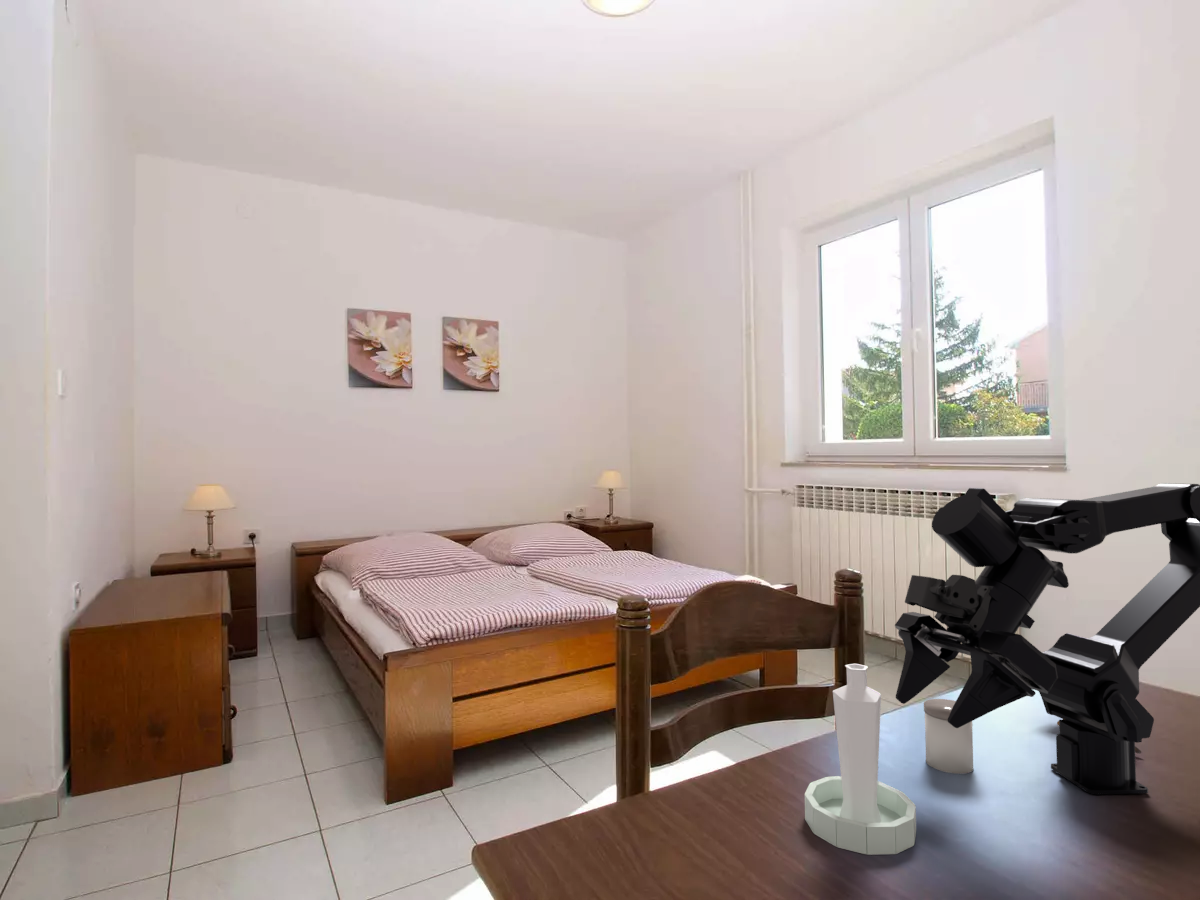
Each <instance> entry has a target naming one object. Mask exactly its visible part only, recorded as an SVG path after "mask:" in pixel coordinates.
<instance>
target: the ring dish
mask: <svg viewBox="0 0 1200 900" xmlns="http://www.w3.org/2000/svg"><path fill="white" fill-rule="evenodd" d="M842 803H843V791H842V781H841V775H840V776H839V775H836V776H835V775H834V776H825V777H822V778H819V779H817V780H814V781H811V782H810V783H809V784H808V786H807V788H806V790H805V792H804V820H805V822H806V823H807V825H808V826H809V828H810V830H811V831H812V833H813V834H814V835H816V836H817V837H818V838H820V839H822V840H824V841H826V843H829V844H830V845H832V846H834V847H836V848H839V849H843V850H847V851H851V852H855V853H859V854H862V855H868V856H871V855H872V856H875V855H878V856H879V855H897V854H899V853H901V852H904V851H905V850H908V849H910V848H912V847H913V846H915V842H916V835H917V813H916V812H917V808H916V807H917V805H916V804H915V803H914V802H913V801H912V800H911V799H910V798H909V796H907V795H906V794H905V793H904V792H903V791H901V790H899V789H897V788H894V787H892V786H890V785H888V784H885V783H884V782H882V781H879V780H878V784H877V806H878V809H879V813H880V816H881V820H880V823H863V822H859V821H855V820H850V819H846V818H842V817H841V815H840V811H841V807H842Z"/></svg>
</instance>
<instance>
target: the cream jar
mask: <svg viewBox="0 0 1200 900" xmlns="http://www.w3.org/2000/svg"><path fill="white" fill-rule="evenodd" d="M955 702H956V700H953V699H945V698H932V699H931V698H930V699H927V700H925V701H923V712H924V729H925V730H924V731H925V733H924V734H925V762H926V764H927V765H928V766H929V767H931V768H933V769H935V770H937V771H940V772H944V773H946V774H947V773H948V774H953V775H955V774H956V775H964V774H970V773H971V772H973V771H974V745H973V744H974V742H973V741H974V740H973V739H974V738H973V734H974V733H973V721H971V722H969V723H967V724H965V725H963V726H961V727H959V728H955V727H953V726H952V725H951V724H950V723H948V717H949V715H950V712H951V710H952V708H953V706H954V704H955Z"/></svg>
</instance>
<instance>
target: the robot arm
mask: <svg viewBox="0 0 1200 900" xmlns="http://www.w3.org/2000/svg"><path fill="white" fill-rule="evenodd" d="M1154 525H1160V528H1161V533H1162V535H1164V537H1165V538H1166V539H1168V540H1169V542H1168V549H1169V562H1168V563H1167V564H1166V565H1165V566H1164V567H1163V568H1162V569H1161V570H1160V571H1158V573H1157V574H1156V575H1155V576H1154V577H1152V579H1150V580H1149V581H1148V583H1147V584H1145V586H1144V587H1142V588H1141V589H1140V590H1139V591H1138V592H1137V593H1136V595H1134V596H1133V597H1132V598H1131V599H1130V600H1129V601H1128V602H1127V603H1126V604H1125V605H1124V606H1123V607H1122V608H1121V609H1120V610H1119V611H1118V612H1117V613H1116V614H1114V616H1113V617H1112V618H1111V619H1110V620H1109V621H1108V622H1107V623H1106V624H1105V625H1104V626H1103V627H1102V628H1100V629H1099V631H1098V632H1097V633H1095V634H1094V635H1093V636H1090V637H1084V636H1080V635H1077V634H1073V633H1070V632H1066V633H1064V634H1063V635H1061V636H1060V637H1059V638H1058V639H1057V640H1056V641H1055V643H1054V644H1053V646H1051V647H1050V648H1049V649H1048V650H1045V651H1041V650H1039V649H1038V648H1037V647H1036V646H1035V645H1033V643H1031V642H1030V641H1029V640H1028V639H1027V638H1025V637H1024V636H1023V635H1022V634H1019V633H1016V632H1018V629H1019V628H1025V629H1028V630H1029V629H1031V628H1032V627H1033V625H1034V623H1035V622H1036V621H1035V620H1034V618H1032V617H1030V615H1029V612H1031V610H1032V609H1033V607H1034V605H1035V603H1036V602H1037V601H1038V599H1039V598H1040V596H1041V595H1042V593H1043V592H1044V590H1045V589H1046V587H1047V586H1051V587H1053V586H1054V587H1057V588H1064V589H1067V588H1068V587H1069V585H1070V583H1069V580H1068V576H1067V575H1066V572H1065V570H1064V563H1063V562H1061V561H1056V560H1050V558H1049V557H1047V556H1046V555H1045V554H1044V553H1043V552H1042V551H1041V550H1043V551H1050V552H1057V553H1063V554H1079V553H1082V552H1084V551H1087V550H1089V549H1092V548H1093V547H1096V546H1099V545H1100V544H1102V543H1103V542H1104V541H1105V539H1106V537H1107V536H1109V535H1111V534H1114V533H1119V532H1124V531H1129V530H1135V529H1140V528H1145V527H1149V526H1150V527H1151V526H1154ZM931 528H932V530H933V532H934V533H935V534H936V535H937V536H939V538H940V539H942V541H943V542H944V543H946V544H947V545H948V546H949V547H950V548H951V549H952V550H953V551H954V552H955V553H957V554H958V555H959V556H960V558H962V559H963V560H964V561H965V562H966V563H967V565H970V566H971V567H975V568H983V570H981V572H980V574H979V575H978V576H977V578H976V579H974V578H972V577H968V576H966V575H963V574H962V575H960V574H951V575H950V576H949V577H948V578H947V579H946V580H945V579H943V578H941V579H940V578H935V577H933V576H932V577H931V576H923V575H915V574H912V575H911V577H910V579H909V584H908V588H907V592H906V595H905V600H904V603H905V604H907V605H910V606H913V607H914V606H917V607H920V608H923V609H925V610H927V611H928V610H929V611H932V612H935V615H934V618H933V617H932V616H931V615H929V614H925V613H920V612H915V611H910V612H903V613H902V614H901V615H900V616H899V619H898V620H897V621H896V622H895V624H894V628H895V629H896V630H898V632H897V634H898V637H899V638H900V639H902V643H903V646H904V651H905V655H904V659H903V666H902V669H901V674H900V678H899V682H898V684H897V685H898V686H897V690H896V692H895V699H896V701H898V702H899V703H901V704H903V705H905V704H906V703H908V702H909V701H910V700H912V699H913V698H915V697H916V696H917V695H918V694H920V693H921V692H922V691H923V690H925V689H926V688H927V687H928V686H929V685H931V683H933V682H934V681H936V680H937V679H938V678H939V677H941V675H943V674H944V673H946V671H948V670H949V669H950V668H951V666H950V665H949V664H948V663H949V662H951V661H953V660H955V659H956V657H957V656H958V655H959V653H960V654H962V655H963V654H964V655H966V656H970V665H971V672H970V674H969V676H968V678H967V680H966V682H965V684H964V686H963V687H962V690H961V691H960V693H959V695H958V697H957V699H956V700H955V701H956V702H955V704H954V706H953V708H952V710H951V712H950V715H949V717H948V723H950V724H951V725H952V726H953V727H955V728H959V727H961V726H963V725H965V724H967V723H969V722H971V721H972V722H973V721H975V720H977V719H979V718H981V717H983V716H985V715H987V714H989V713H991V712H992V711H995V710H997V709H999V708H1002V707H1004V706H1007V705H1009V704H1011V703H1013V702H1015V701H1017V700H1020V699H1023V698H1025V697H1030V698H1033V697H1034V696H1035V695H1036V693H1037V692H1038V693H1039V695H1040V696H1041V700H1042V703H1043V705H1044V708H1045V711H1046V712H1045V713H1046V714H1049V716H1050V715H1051V716H1055V717H1058V718H1060V719H1059V720H1058V721H1059V726H1058V729H1059V730H1058V732H1059V733H1057V734H1056V736H1055V737H1056V738H1055V742H1056V743H1055V744H1056V746H1055V747H1056V750H1055V751H1056V752H1055V753H1056V763H1051V764H1050V769H1051V770H1052V771H1054V772H1055V773H1057V774H1059V775H1060V776H1062V777H1063V778H1065V779H1066V780H1068V781H1069V782H1071V783H1072V784H1074V785H1075V786H1077V787H1079V789H1082V791H1085V792H1086V793H1088V794H1092V795H1125V794H1127V795H1129V794H1130V795H1131V794H1133V795H1134V794H1148V793H1149V788H1148V786H1146V785H1144V784H1142V783H1140V782H1138V781H1137V774H1136V773H1137V769H1136V752H1135V747H1136V743H1137V744H1138V743H1142V741H1143V739H1149V738H1150V737H1151V734H1152V731H1153V728H1154V727H1153V726H1154V721H1155V718H1154V716H1152V715H1151V713H1150V711H1148V710H1147V709H1146V708H1145V707H1144V706H1143V705H1142V703H1140V701H1139V700H1138V699H1137V697H1138V695H1140V672H1139V671H1140V669H1141V667H1142V666H1143V665H1144V664H1146V662H1147V661H1148V660H1149V659H1150V658H1151V657H1152V656H1153V655H1154V654H1155V653H1156V652H1157V651H1158V650H1159V649H1160V648H1161V647H1162V646H1163V645H1164V644H1165V643H1166V641H1168V640H1169V639H1170V638H1171V637H1172V635H1174V634H1175V632H1176V631H1178V630H1179V629H1180V627H1181V626H1183V625H1184V623H1185V622H1186V621H1188V619H1189V618H1191V616H1192V615H1193V614H1194V613H1195V612H1196V611H1197V610H1198V609H1199V608H1200V484H1199V483H1176V482H1175V483H1170V482H1169V483H1167V482H1161V483H1159V484H1155V485H1153V486H1151V487H1146V488H1145V487H1144V488H1139V489H1134V490H1128V491H1123V492H1117V493H1111V494H1106V495H1099V496H1095V497H1090V498H1084V499H1069V498H1068V499H1067V498H1066V499H1064V498H1044V497H1043V498H1041V497H1040V498H1039V497H1024V498H1022V499H1021V498H1020V499H1019V500H1017V501H1015V503H1014V504H1013V508H1012V509H1008V510H1005V509H1003V508H1002V507H1001V505H999V503H997V502H996V501H995V500H994V497H993V496H992V494H990V493H989V491H987V490H986V489H985V488H981V487H980V488H979V487H978V488H977V487H969V488H968V489H967V491H966V492H965V493H964V495H961V496H957V497H956V498H953V499H952V500H950V501H949V502H947V503H946V504H945V505H943V506H941V507H940V508H938V510H937V511H936V512H935V514H934V515H933V518H932V521H931ZM943 625H945V626H946V627H944V626H943ZM1036 691H1037V692H1036ZM1063 719H1064V720H1063Z"/></svg>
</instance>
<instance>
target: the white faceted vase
mask: <svg viewBox="0 0 1200 900" xmlns="http://www.w3.org/2000/svg"><path fill="white" fill-rule="evenodd" d="M844 667H845V668H846V685H843V686H841V687H838V688H836V689H833V690H832V697H833V709H834V718H835V719H834V720H835V728H836V739H837V748H838V750H837V751H838V757H839V758H838V759H839V768H840V770H839V771H840V776H841V781H842V791H843V803H842V807H841V811H840V815H841V817H842V818H846V819H850V820H855V821H859V822H863V823H880V820H881V816H880V813H879V809H878V806H877V784H878V781H879V779H878V778H879V758H880V756H879V754H880V753H879V752H880V735H881V734H880V731H881V729H880V728H881V727H880V726H881V710H882V708H881V707H882V706H881V705H882V704H881V703H882V694H881V693H880V692H879V691H877V690H875V689H873V688H872V687H869V686H868V677H867V676H868V675H867V673H868V672H867V670H868V668H869V667H868V665H864V664H859V663H849V664H845V665H844Z"/></svg>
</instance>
